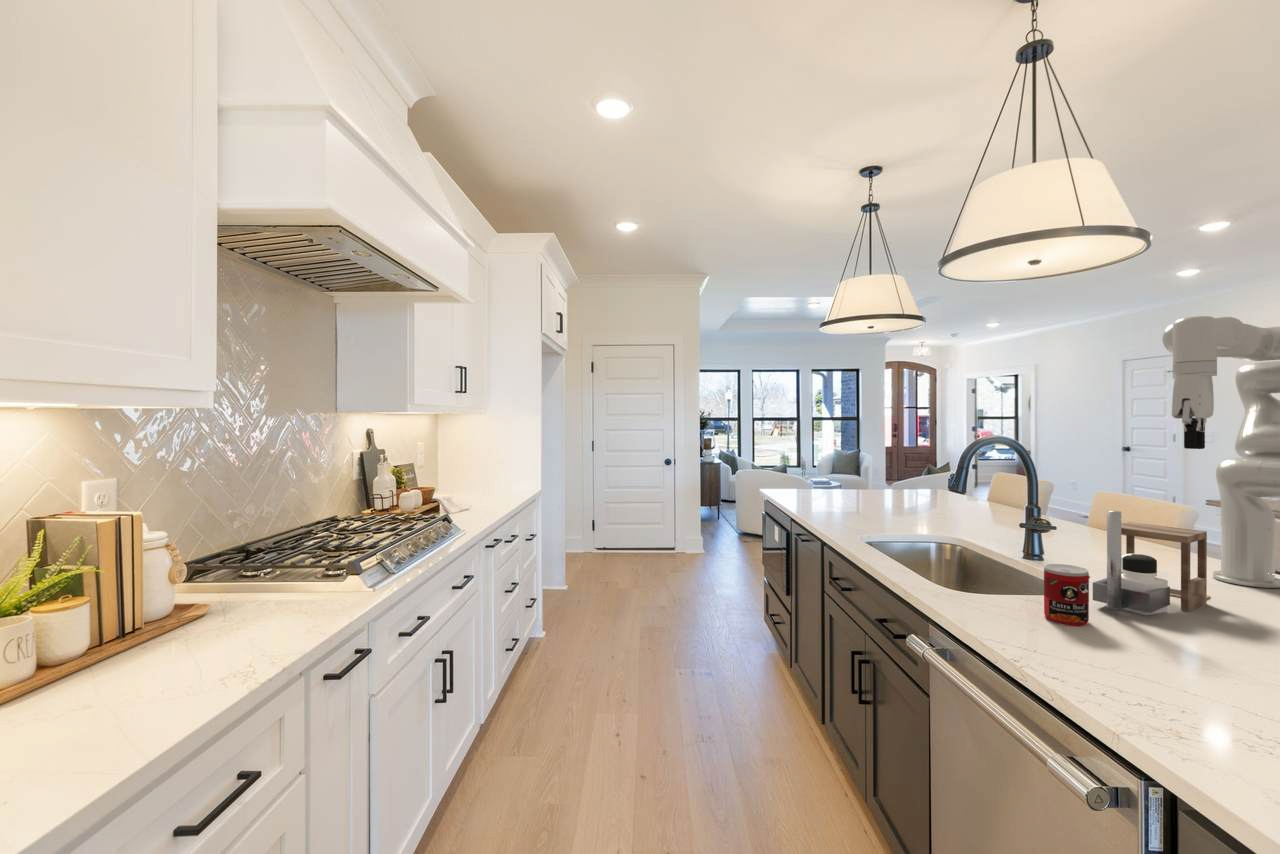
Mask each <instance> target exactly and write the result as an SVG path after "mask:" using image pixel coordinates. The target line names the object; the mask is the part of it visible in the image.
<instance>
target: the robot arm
mask: <svg viewBox="0 0 1280 854" xmlns="http://www.w3.org/2000/svg"><path fill="white" fill-rule="evenodd" d="M1161 340H1162V344H1163V347H1164V348H1165V349H1166V350H1167V351H1168V352H1169V353H1171V354H1172V378H1174V381H1173V388H1172V398H1171V401H1172V402H1171V404H1172V405H1171V417H1173V418H1174V419H1181V422H1182V424H1183V447H1184V449H1186V450H1187V449H1188V450H1189V449H1191V450H1203V449H1205V448H1206V423H1207V419H1209V418H1211V417H1213V415H1214V406H1215V403H1214V401H1215V397H1214V384H1213V377H1214V376H1215V377H1216V376H1218V358H1234V359H1238V360H1242V361H1249V362H1252V363H1249V364H1246V365H1242V366H1241V367H1239V368H1238V370H1237V371H1236V373H1235V376H1234V377H1235V387H1236V388H1237V393H1238V395H1239V397H1240V400H1241V403H1242V405H1243V408H1244V415H1243V419H1242V421H1241V425H1240V427H1239V430H1238V433H1237V436H1236V440H1235V445H1234V450H1235V452H1236V455H1237V456H1239V457H1237V458H1236V457H1234V458H1229V459H1225V460H1223V461H1222V462H1220V463H1218V466H1217V467H1216V470H1215V478H1216V483H1217V487H1218V492H1219V497H1220V498H1219V499H1220V570H1216V571H1213V572H1212V577H1213V578H1214V579H1216V580H1219V581H1222V582H1225V583H1229V584H1232V585H1233V584H1234V585H1239V586H1246V587H1252V588H1253V587H1254V588H1255V587H1256V588H1264V589H1278V588H1280V578H1277V577H1276V569H1275V568H1276V516H1275V513H1274V511H1273V509H1272V507H1270V506H1269V505H1268V504H1267V502H1266V501H1265V500H1264V499H1263V498H1274V499H1280V400H1279V399H1278V398H1276V397H1274V396H1273V395H1272V394H1280V326H1272V327H1260V326H1256V325H1252V324H1250V323H1249V324H1248V323H1243V321H1241V320H1240V319H1238V318H1236V317H1232V316H1221V317H1213V316H1210V315H1209V316H1208V315H1207V316H1205V315H1200V316H1199V315H1198V316H1188V317H1184V318H1179V319H1177V320H1176V321H1174V323H1171V324H1170V325H1168V326H1167V327H1166V328H1165V330H1164V331H1163V333H1162V339H1161ZM1253 362H1254V363H1253ZM1268 573H1269V574H1268ZM1272 574H1275V575H1272Z"/></svg>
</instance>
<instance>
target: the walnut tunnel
mask: <svg viewBox="0 0 1280 854" xmlns="http://www.w3.org/2000/svg"><path fill="white" fill-rule="evenodd" d="M1207 532H1208V531H1205V530H1198V529H1189V528H1181V527H1174V526H1173V527H1172V526H1167V525H1166V526H1163V525H1155V524H1147V523H1139V522H1131V521H1127V522H1121V536H1122V535H1125V536H1126V537H1125V538H1126V541H1125V544H1126V547H1125V548H1126V550H1125V553H1126V554H1135V537H1138V538H1144V539H1145V538H1146V539H1153V540H1159V541H1160V540H1161V541H1169V542H1175V543H1180V590H1181V598H1180V611H1181V610H1182V611H1181V612H1186V611H1187V613H1190V612H1191V610H1192V611H1193V609H1194V610H1196V609H1198V608H1200V606H1201V607H1203V606H1205V605H1207V600H1208V599H1207V595H1208V592H1207V590H1208V589H1207V587H1208V586H1207V584H1208V583H1207V581H1208V580H1207V576H1208V574H1207V570H1208V569H1207V566H1208V565H1207V563H1208V562H1207V559H1208V557H1207V552H1208V550H1207V549H1208V548H1207V547H1208V545H1207V542H1208V541H1207V540H1208V538H1207V536H1208V533H1207ZM1194 542H1197V577H1195V578H1194V577H1193V578H1191V543H1194ZM1121 574H1123V572H1121ZM1204 604H1205V605H1204ZM1202 605H1203V606H1202Z"/></svg>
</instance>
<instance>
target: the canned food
mask: <svg viewBox="0 0 1280 854" xmlns="http://www.w3.org/2000/svg"><path fill="white" fill-rule="evenodd" d="M1089 575H1090V574H1089V570H1088V569H1086V568H1085V567H1084V568H1083V567H1081V566H1077V565H1072V564H1064V563H1063V564H1061V563H1050V564H1045V565H1044V566H1043V615H1044V617H1045V619H1047V620H1048V621H1050V622H1052V623H1055V624H1058V625H1062V624H1063V625H1064V626H1068V625H1069V626H1070V627H1083V626H1087V625H1088V623H1089V621H1090V620H1089V619H1090V616H1089V615H1090V611H1089V610H1090V603H1089V602H1090V576H1089Z"/></svg>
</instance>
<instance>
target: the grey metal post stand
mask: <svg viewBox="0 0 1280 854" xmlns="http://www.w3.org/2000/svg"><path fill="white" fill-rule="evenodd" d="M1121 524H1122V511H1119V510H1106V578H1103V579H1100V580H1096V581H1094V582H1093V581H1092V601H1095V602H1098V603H1102V604H1103V603H1104V604H1106V606H1107V608H1108V609H1112V610H1116V611H1121V610H1124V608H1129V609H1134V610H1138V611H1143V612H1147V613H1152V612H1154V611H1156V610H1159V609H1161V608H1164V607H1166V606H1170V605H1171V596H1170V588H1171V586H1169V585H1168V587H1167V588H1160V589H1155V590H1153V591H1150V592H1147V593H1146V592H1141V591H1136V590H1131V589H1126V588H1121V556H1122V534H1121Z"/></svg>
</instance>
